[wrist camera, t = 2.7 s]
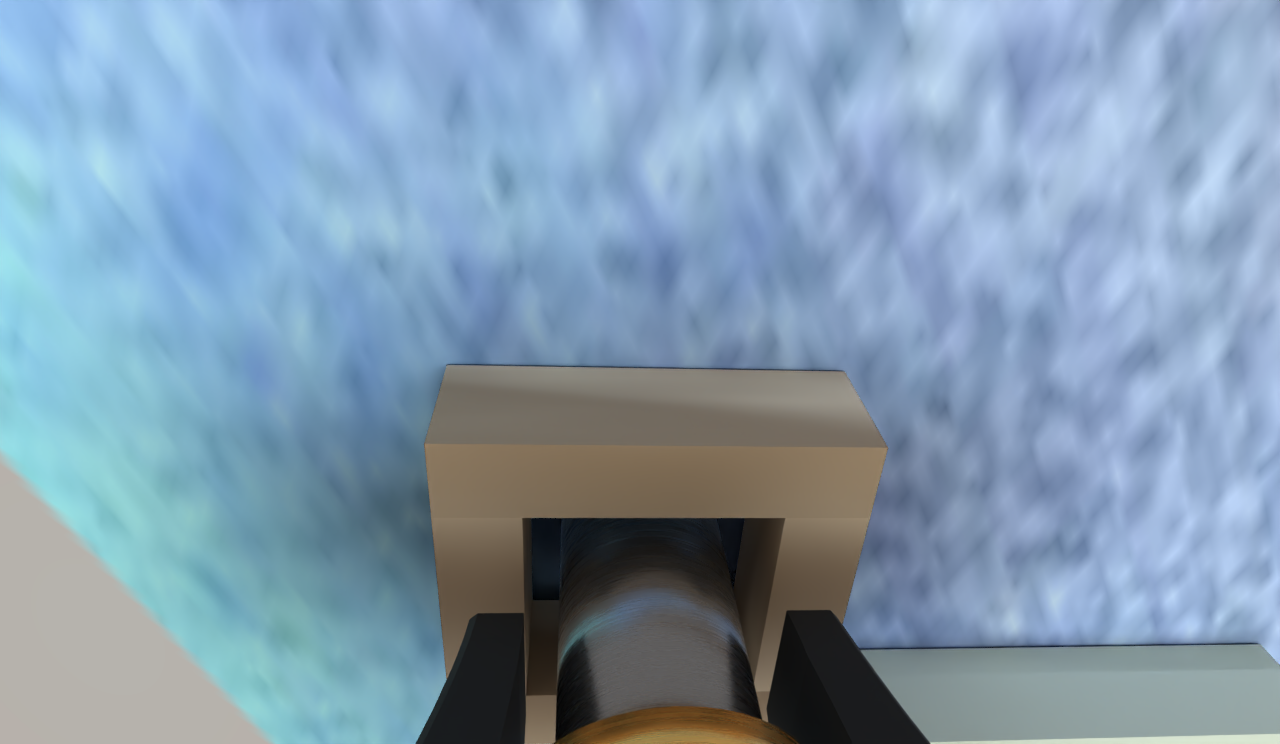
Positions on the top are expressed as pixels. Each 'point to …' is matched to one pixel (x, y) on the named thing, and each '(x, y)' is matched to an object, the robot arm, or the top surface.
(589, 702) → the pin
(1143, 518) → the top surface
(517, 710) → the robot arm
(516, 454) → the collar block
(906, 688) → the parts tray
